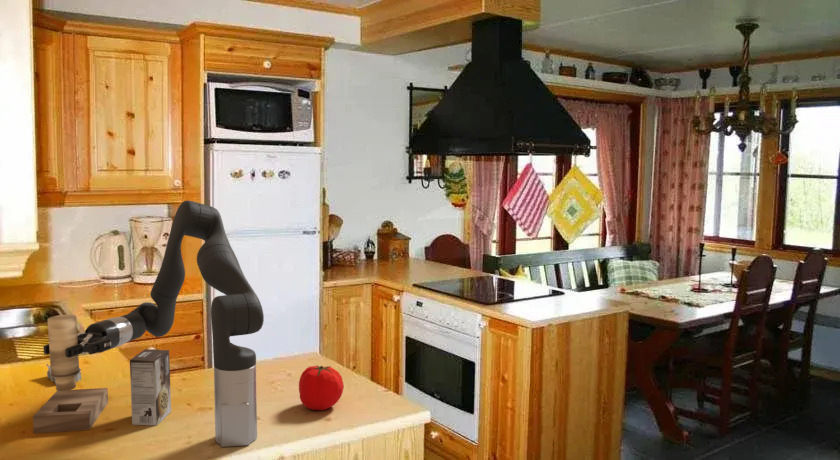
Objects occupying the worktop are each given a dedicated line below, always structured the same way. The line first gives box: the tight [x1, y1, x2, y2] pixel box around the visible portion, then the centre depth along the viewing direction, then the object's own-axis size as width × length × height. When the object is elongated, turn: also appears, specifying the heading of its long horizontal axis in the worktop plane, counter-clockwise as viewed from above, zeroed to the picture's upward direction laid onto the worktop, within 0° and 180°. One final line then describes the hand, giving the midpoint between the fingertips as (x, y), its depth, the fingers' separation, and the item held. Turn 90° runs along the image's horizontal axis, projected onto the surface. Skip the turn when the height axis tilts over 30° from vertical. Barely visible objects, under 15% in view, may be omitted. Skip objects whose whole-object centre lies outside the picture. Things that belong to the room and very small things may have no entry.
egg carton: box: [46, 363, 82, 385], centre depth 200 cm, size 11×8×4 cm
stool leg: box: [47, 314, 81, 391], centre depth 165 cm, size 6×6×17 cm
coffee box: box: [129, 348, 172, 427], centre depth 170 cm, size 9×6×16 cm
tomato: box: [298, 365, 344, 411], centre depth 179 cm, size 12×12×11 cm
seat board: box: [32, 387, 109, 434], centre depth 171 cm, size 18×12×4 cm, turn 11°
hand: (55, 351), depth 163 cm, fingers closed on stool leg, 6 cm apart
